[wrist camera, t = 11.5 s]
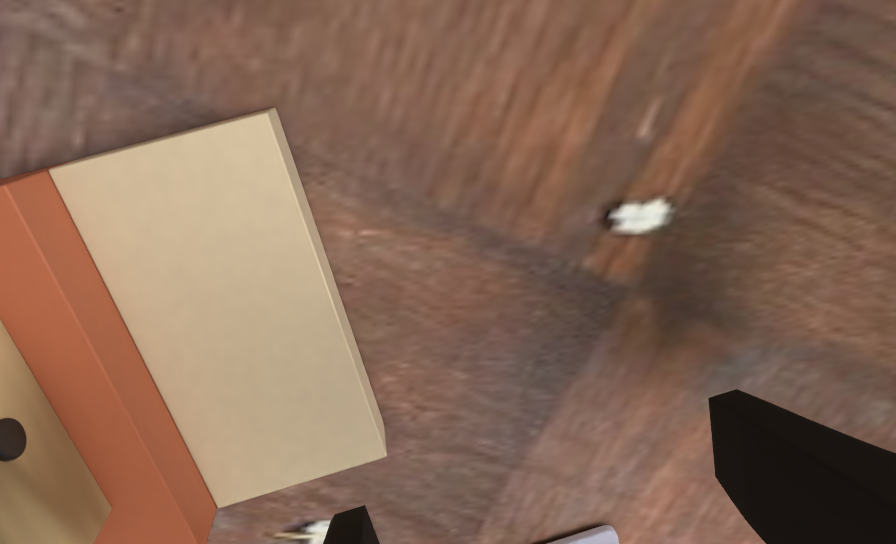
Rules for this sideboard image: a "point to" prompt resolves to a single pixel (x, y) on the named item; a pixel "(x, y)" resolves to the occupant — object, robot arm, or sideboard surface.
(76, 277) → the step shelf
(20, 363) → the beige block with hole
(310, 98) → the sideboard surface
